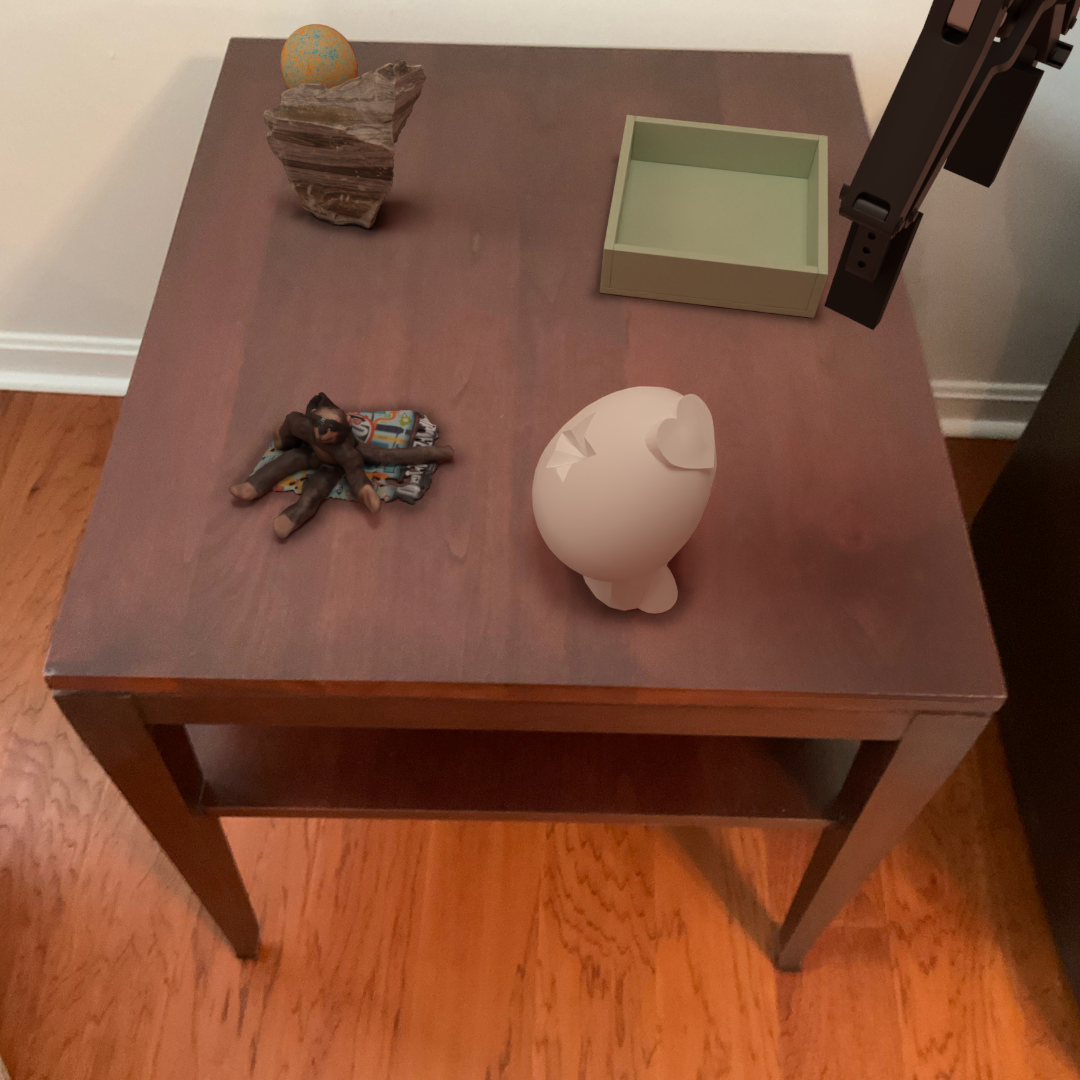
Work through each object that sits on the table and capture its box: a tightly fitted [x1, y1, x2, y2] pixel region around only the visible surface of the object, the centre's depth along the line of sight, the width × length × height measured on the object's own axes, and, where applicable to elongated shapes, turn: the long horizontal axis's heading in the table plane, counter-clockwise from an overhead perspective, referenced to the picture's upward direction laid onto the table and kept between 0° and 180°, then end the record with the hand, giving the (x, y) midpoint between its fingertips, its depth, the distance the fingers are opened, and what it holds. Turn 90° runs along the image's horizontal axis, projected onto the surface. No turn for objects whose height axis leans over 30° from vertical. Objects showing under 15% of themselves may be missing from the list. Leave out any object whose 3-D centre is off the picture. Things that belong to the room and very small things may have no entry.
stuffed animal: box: [228, 391, 455, 539], centre depth 74 cm, size 12×10×12 cm
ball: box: [280, 23, 358, 89], centre depth 96 cm, size 7×7×7 cm
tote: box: [599, 114, 829, 319], centre depth 87 cm, size 18×18×5 cm
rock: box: [262, 58, 427, 230], centre depth 84 cm, size 13×6×15 cm, turn 72°
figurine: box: [531, 385, 718, 615], centre depth 65 cm, size 11×11×15 cm
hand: (913, 241), depth 53 cm, fingers open, 13 cm apart
